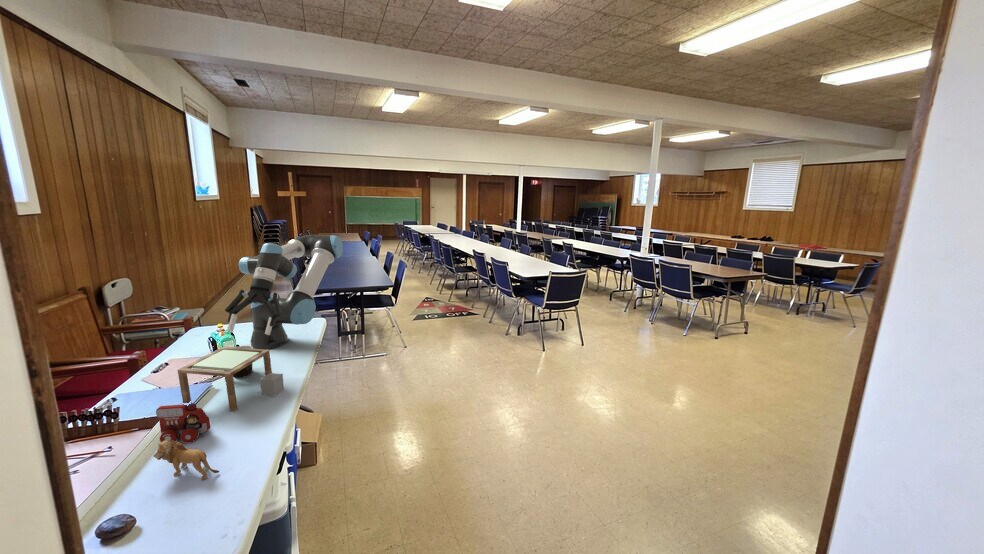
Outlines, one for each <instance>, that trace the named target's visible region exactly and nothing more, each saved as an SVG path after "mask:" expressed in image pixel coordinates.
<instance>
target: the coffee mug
mask: <svg viewBox="0 0 984 554" xmlns="http://www.w3.org/2000/svg"><path fill="white" fill-rule="evenodd" d="M236 347H237V348H250V349H254V348H253V347H251V345H241V346H240V345H239V346H236ZM251 374H253V363H252V364H250V365H248V366H247V367H245V368H243V369H242V370H240V371H238V372H237V373H235V374H233V378H234V379H235V378H236V379H238V378H239V379H240V378H246V377H248V376H251Z"/></svg>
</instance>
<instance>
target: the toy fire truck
mask: <svg viewBox="0 0 984 554" xmlns="http://www.w3.org/2000/svg"><path fill="white" fill-rule="evenodd" d="M155 414H156V417H157V418H158V422H159V427H160V435H159V441H160V442H163V441H164V440H173V441H178V439H179V438H180V441H182V442H183V443H185V444H192V443H194V442H195V441H196V440H197V439H198V438H199V433H207V432H208V431H209V430H211V420H210V417H209V416H208V415H207V414H206V413H205V411H204V410H203V409H202V408H201V407H198V406H197V404H196V403H194V402H191V404H189V405H188V406H187V405H184V404H183V403H182V404H172V405H171V404H170V405H161V406H159V407H157V408H156V410H155ZM179 435H180V437H179Z"/></svg>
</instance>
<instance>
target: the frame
mask: <svg viewBox="0 0 984 554" xmlns="http://www.w3.org/2000/svg"><path fill="white" fill-rule="evenodd" d="M237 347H238V346H235V347H234V346H222V347H220V348H218V349H216V350H214V351H213V352H210V353H208V354H207V355H206V354H205V355H204V356H202V357H200V358H198V359H197V360H194V361H191V363H188V364H186V365H184V366H182V367H181V368H179V369H177V374H178V380H179V386H180V393H181V397H182V398H181V400H182V404H183V403H189V402H190V401H191V402H192V397H191V392H190V386H189V384H190V383H189V380H188V374H190V375H191V374H192V375H200V376H201V375H202V376H203V375H204V376H215V377H224V382H225V385H226V393H227V399H228V400H227V401H228V406H229V412H231V413H232V412H233V413H234V412H236V411H238V410H239V408H238V400H237V396H236V394H237V393H236V387H235V377H233V374H235V373H237V372H238V371H240V370H242V369H243V368H245V367H247V366H248V365H250V364H252V365H253V363H255V362H257V361H258V360H260V359H261V358H263V366H264V374H265V376H266V375H267V374H269V373H273V372H272V363H271V362H272V361H271V355H270V354H271V353H270V349H255V348H253V349H250V348H237ZM222 350H235V351H248V352H260V353H259V354H257V355H256V356H254V357H252V358H251V359H249V360H247V361H245V362H244V363H242V364H240V365H239V366H237V367H235V368H234V369H232V370H230V371H221V370H209V369H197V368H193V365H194V364H196V363H198V362H200V361H202V360H204V359H206V358H208V357H210V356H212V355H214V354H216V353H218V352H220V351H222ZM265 376H264V377H265Z"/></svg>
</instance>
